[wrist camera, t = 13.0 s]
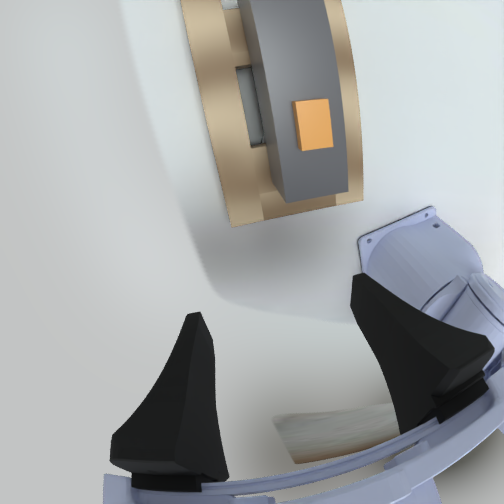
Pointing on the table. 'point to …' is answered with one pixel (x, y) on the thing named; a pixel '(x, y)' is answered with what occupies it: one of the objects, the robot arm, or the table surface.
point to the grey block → (298, 96)
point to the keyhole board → (233, 118)
